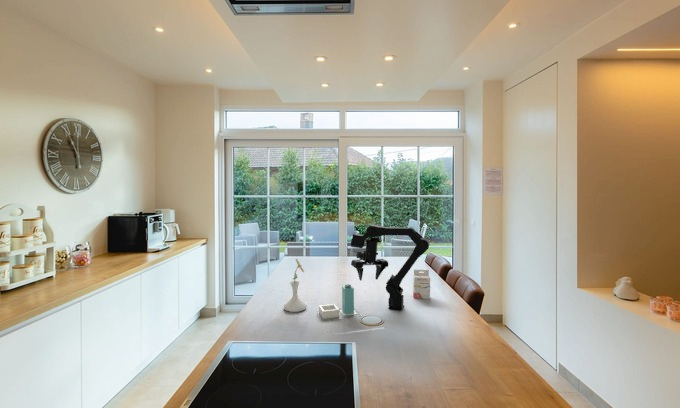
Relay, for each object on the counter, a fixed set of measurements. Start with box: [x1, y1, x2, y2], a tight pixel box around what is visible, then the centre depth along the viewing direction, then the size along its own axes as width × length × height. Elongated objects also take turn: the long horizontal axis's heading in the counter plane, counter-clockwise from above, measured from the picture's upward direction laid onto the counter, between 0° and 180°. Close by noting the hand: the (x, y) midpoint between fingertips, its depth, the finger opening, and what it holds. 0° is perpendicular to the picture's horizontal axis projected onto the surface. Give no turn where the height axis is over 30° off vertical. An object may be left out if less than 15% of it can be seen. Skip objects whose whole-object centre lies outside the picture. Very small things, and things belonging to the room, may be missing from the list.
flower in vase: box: [283, 258, 308, 313], centre depth 169 cm, size 13×11×25 cm
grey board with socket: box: [315, 303, 362, 322], centre depth 162 cm, size 19×13×4 cm
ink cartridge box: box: [412, 269, 431, 300], centre depth 185 cm, size 9×5×15 cm, turn 84°
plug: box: [341, 284, 355, 314], centre depth 163 cm, size 4×4×13 cm
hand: (368, 279), depth 173 cm, fingers open, 9 cm apart
